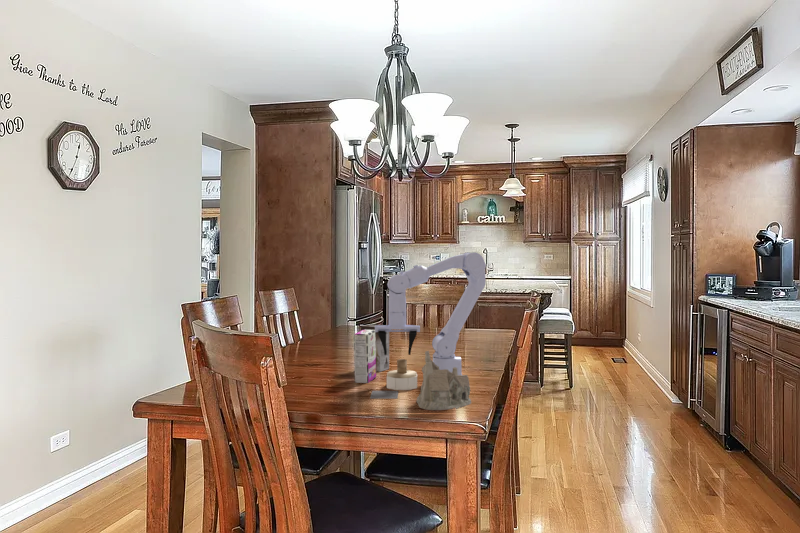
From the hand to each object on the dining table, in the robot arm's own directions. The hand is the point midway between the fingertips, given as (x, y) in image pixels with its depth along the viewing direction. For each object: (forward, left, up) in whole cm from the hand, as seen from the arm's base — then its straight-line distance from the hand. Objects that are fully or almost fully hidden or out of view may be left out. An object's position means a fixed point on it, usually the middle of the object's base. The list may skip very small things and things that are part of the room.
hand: (397, 354), depth 193 cm
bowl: (-2, +4, -10) cm, 11 cm away
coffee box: (+9, -27, -10) cm, 30 cm away
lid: (-2, +4, -6) cm, 7 cm away
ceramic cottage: (-14, +25, -10) cm, 30 cm away
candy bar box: (+11, -7, -10) cm, 16 cm away
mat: (+4, +15, -10) cm, 18 cm away
